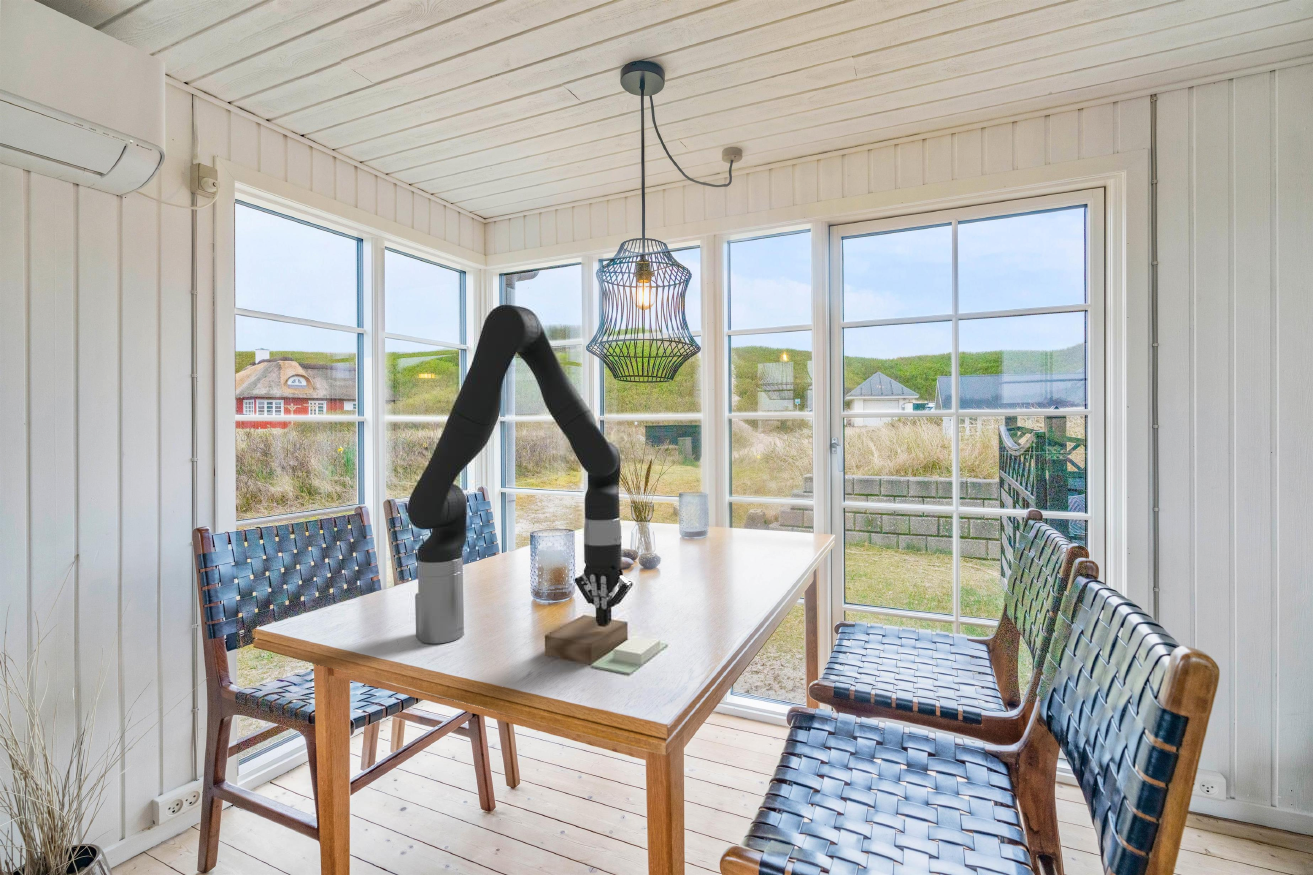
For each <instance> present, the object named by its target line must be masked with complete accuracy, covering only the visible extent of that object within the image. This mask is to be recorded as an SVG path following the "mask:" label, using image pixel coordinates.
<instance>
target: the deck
mask: <svg viewBox="0 0 1313 875" xmlns="http://www.w3.org/2000/svg"><path fill="white" fill-rule="evenodd" d="M628 633H629V632H628V621H623V620H618V619H612V618H611V622H610V623H609V625H608V626H606V627H602V626H598V623H597V622H596V616H591V615H586V614H583V615H581V616H579V617H577V618H576V619H574V620H571V621H570V622H568V623H566V624H564V625H562V626H560V627H558V628H556V629H554V630H552V631H551V632H548V633H547V634H544V656H547V657H552V658H556V659H557V658H558V659H562V660H567V661H571V662H577V663H580V664H581V663H583V664H588V665H590V666H591V665H592V664H593V663H595V662H596V661H598V660H599V659H601V658H602V657H604V656H605V655H607V654H608V653H610V652H611V651H613V650H614V649H615V648H616V647H618V646H619V645H621V644H622V643H624V642H625V641H627V640H628V639H629V637H628V636H629V635H628Z"/></svg>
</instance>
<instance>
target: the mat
mask: <svg viewBox="0 0 1313 875" xmlns="http://www.w3.org/2000/svg"><path fill="white" fill-rule="evenodd" d="M668 646H669V644H668V643H666V642H661V641H660V650H659V651H658V652H657V653H656V654H654V655H653V656H652V657H650V658H649V659H648V660H646V661H645V662H644V663H643V664H636V663H631V662H625V661H620V660H615V659H614V650H613V651H611V652H610V653H608V654H607V655H605V656H604V657H602V658H601V659H599V660H598V661H596V662H595V663H593V664H592V665H591V664H590V667H591V668H595V669H600V670H603V671H609V672H614V673H620V674H624V675H628V676H629V675H630V676H631V675H632V674H633V673H634V672H636V671H637V670H639V669H640V668H641V667H642V666H644V665H645V664H646V663H648V662H649V661H650V660H652V659H653V658H654V657H655V656H657V655H658V654H660V653H661V651H664V649H666V648H667V647H668Z"/></svg>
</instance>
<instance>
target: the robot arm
mask: <svg viewBox="0 0 1313 875" xmlns="http://www.w3.org/2000/svg"><path fill="white" fill-rule="evenodd" d="M475 348H476V349H475V353H474V356H473V358H472V361H471V364H470V367H469V369H468V371H467V373H466V375H465V378H464V380H463V383H462V386H461V388H460V390H459V392H458V395H457V397H456V399H455V401H454V403H453V405H452V408H451V410H450V412H449V415H448V417H447V420H446V423H445V425H444V428H443V430H442V433H441V435H440V437H439V440H438V442H437V444H436V445H435V449H434V450H433V452H432V456H431V458H430V459H429V461H428V463H427V465H426V467H425V468H424V470H423V473H422V474H421V476H420V477H419V479H418V481H417V483H416V485H415V487H414V488H413V490H412V492H411V494H410V496H409V498H408V503H407V516H408V519H409V522H410V523H411V524H412V526H414V527H415V528H417V529H420V530H431V533H430V535H429V536H428V538H427V539H425V540H424V542H422V543H421V544H420V545H419V546H418V547H417V551H416V553H417V555H416V556H417V587H418V588H417V589H418V590H417V591H418V592H416V594H414V600H415V602H414V605H415V606H414V608H415V610H414V611H415V613H414V614H415V638H417V639H418V640H419V641H420V642H421V643H424V644H425V643H426V644H433V645H434V644H435V645H436V644H444V643H448V642H453V641H456V640H459V639H460V638H462V637H463V636H464V635H465V620H464V617H465V615H464V614H465V613H464V612H465V610H464V608H465V607H464V568H463V567H464V564H463V562H464V561H463V551H464V550H463V549H464V547H465V544H466V540H467V525H468V524H467V523H468V520H467V519H468V518H467V516H468V508H467V506H468V505H467V499H466V496H465V493H464V491H463V489H462V488H461V487H460V486H459V485H457V484H455V483H454V482H455V481H456V479H457V477H458V476H459V475H460V474H461V472H462V471H463V470H464V469H465V468H466V467H467V466H468V465H469V464H470V463H471V462H472V461H473V460H474V459H475V457H477V456H478V455H479V454H480V453H481V451H482V450H483V449H484V448H485V447H486V445H487V443H488V442H489V441H490V439H491V436H492V434H493V432H494V430H495V427H496V424H497V422H498V420H499V417H500V413H501V408H502V390H503V383H504V379H505V376H506V375H507V372H508V369H509V368H510V365H511V364H512V361H513V360H514V358H515V356H516V355H518V356H519V357H520V358H521V359H522V360H523V361H524V363H525V364H526V365H527V366H528V367H529V369H530V371H531V372H532V374H533V376H534V378H535V380H536V383H537V385H538V387H539V391H540V392H541V397H542V399H543V402H544V404H545V406H546V408H547V411H549V414H550V415H551V417H552V418H553V421H554V422H555V423H556V424H557V426H558V428H559V429H560V430H561V432H562V433H563V434H564V435H565V437H566V438H567V440H568V443H569V444H570V447H571V448H572V450H573V452H574V455H575V457H576V458H577V460H578V462H579V464H580V465H581V466H582V468H583V469H584V470H585V471H586V473H587V488H586V489H587V490H586V492H585V495H584V526H583V556H584V557H583V559H584V560H583V562H584V564H585V567H584V569H583V573H582V574H581V575H579V576H578V577H575V578H574V583H575V584H576V586H577V588H578V590H579V591H580V592H581V594H582V596H583V597H584V598H583V599H584V600H585V601H586V603H588V604H591V605H593V606H594V608H595V617H596V622H597V623H598V626H602V627H606V626H608V625H609V623H610V622H611V619H612V608H613V607H615V606H617V605H619V604H620V603H621V602H622V601H623V599H624V598H625V596H627V594H628V592H629V591H630V589H631V588H632V587H633V585H634V584H633V582H632V581H631V580H627V579H626V578H625V576H624V572H623V570H622V566H621V565H622V525H621V518H620V515H621V513H620V512H621V510H620V508H621V507H620V480H621V466H622V465H621V464H622V462H621V453H620V451H619V449H618V448H617V446H616V445H615V444H613V443H612V442H610V441H608V439H607V438H606V437H605V436H604V434H603V432H602V431H601V429H600V428H599V426H598V425H597V420H596V418H595V416H594V414H593V412H592V410H591V409H590V407H589V406H588V405H587V404H586V402H585V401H584V400H585V399H583V398H582V396H581V394H580V393H579V392H578V390H577V388H576V387H575V386H574V384H573V382H572V381H571V380H570V378H569V376H568V374H567V373H566V371H565V370H564V368H563V365H562V364H561V362H560V359H559V358H558V356H557V354H556V353H555V351H554V348H553V346H552V345H551V342H550V341H549V338H548V336H547V334H546V331H545V329H544V327H543V324H542V323H541V321H540V320H539V317H538V316H537V314H536V313H534V312H533V311H532V310H531V309H529V308H527V307H525V306H518V305H512V304H501V305H500V304H499V305H498V306H496V307H495V308H493V309H492V310H491V311H489V313H488V314H487V316H486V318H485V320H484V323H483V326H482V328H481V331H480V334H479V339H478V342H477V345H476V347H475ZM616 586H617V591H616V593H615V587H616ZM614 593H615V595H614ZM613 595H614V596H613Z"/></svg>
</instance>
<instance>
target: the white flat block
mask: <svg viewBox="0 0 1313 875" xmlns="http://www.w3.org/2000/svg"><path fill="white" fill-rule="evenodd" d="M660 642H661V640H659V639H654V638H649V637H645V636H644V637H642V636H636V635H633V636H631V637H629V638H628V640H627V641H625V642H624V643H622V644H621V645H619V646H618V647H616V648H615V649H614V659H615V660H620V661H625V662H631V663H636V664H643V663H644V662H645V661H646V660H648V659H649V658H650V657H652V656H653V655H654V654H656V653H657V652H658V651H659V650H660Z"/></svg>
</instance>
